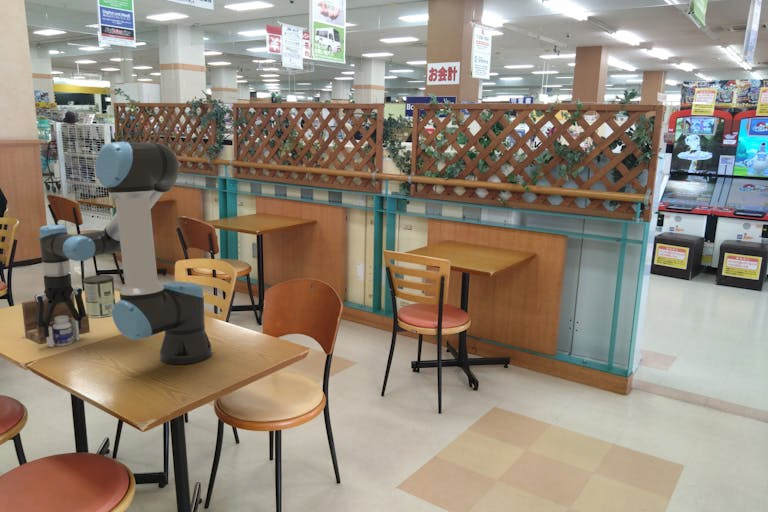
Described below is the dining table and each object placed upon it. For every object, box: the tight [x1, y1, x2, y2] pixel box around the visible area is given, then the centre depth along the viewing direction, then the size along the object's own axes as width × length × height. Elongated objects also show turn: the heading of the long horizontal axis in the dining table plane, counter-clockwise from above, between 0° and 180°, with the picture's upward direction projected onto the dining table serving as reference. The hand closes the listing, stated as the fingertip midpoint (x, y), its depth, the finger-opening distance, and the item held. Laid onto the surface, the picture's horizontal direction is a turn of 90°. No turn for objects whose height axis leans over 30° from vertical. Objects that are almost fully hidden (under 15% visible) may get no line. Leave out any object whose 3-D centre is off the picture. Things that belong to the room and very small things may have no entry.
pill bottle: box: [53, 316, 74, 347], centre depth 184 cm, size 5×5×9 cm
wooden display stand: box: [21, 292, 91, 345], centre depth 192 cm, size 11×16×12 cm, turn 144°
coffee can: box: [82, 274, 116, 319], centre depth 215 cm, size 10×10×14 cm
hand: (63, 342), depth 185 cm, fingers open, 7 cm apart
